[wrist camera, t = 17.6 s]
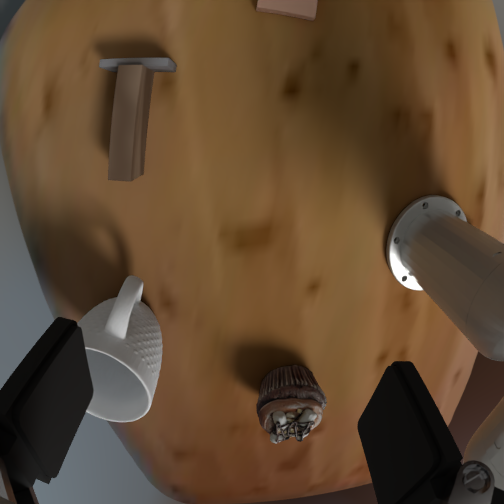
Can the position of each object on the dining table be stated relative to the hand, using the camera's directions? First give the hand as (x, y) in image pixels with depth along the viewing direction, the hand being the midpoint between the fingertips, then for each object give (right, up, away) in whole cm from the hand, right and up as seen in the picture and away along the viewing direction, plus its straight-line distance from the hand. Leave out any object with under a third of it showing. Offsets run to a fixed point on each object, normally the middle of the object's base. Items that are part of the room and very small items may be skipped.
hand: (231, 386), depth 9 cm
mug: (-15, -4, +31) cm, 34 cm away
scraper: (-11, +18, +22) cm, 30 cm away
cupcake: (+6, -15, +36) cm, 40 cm away
